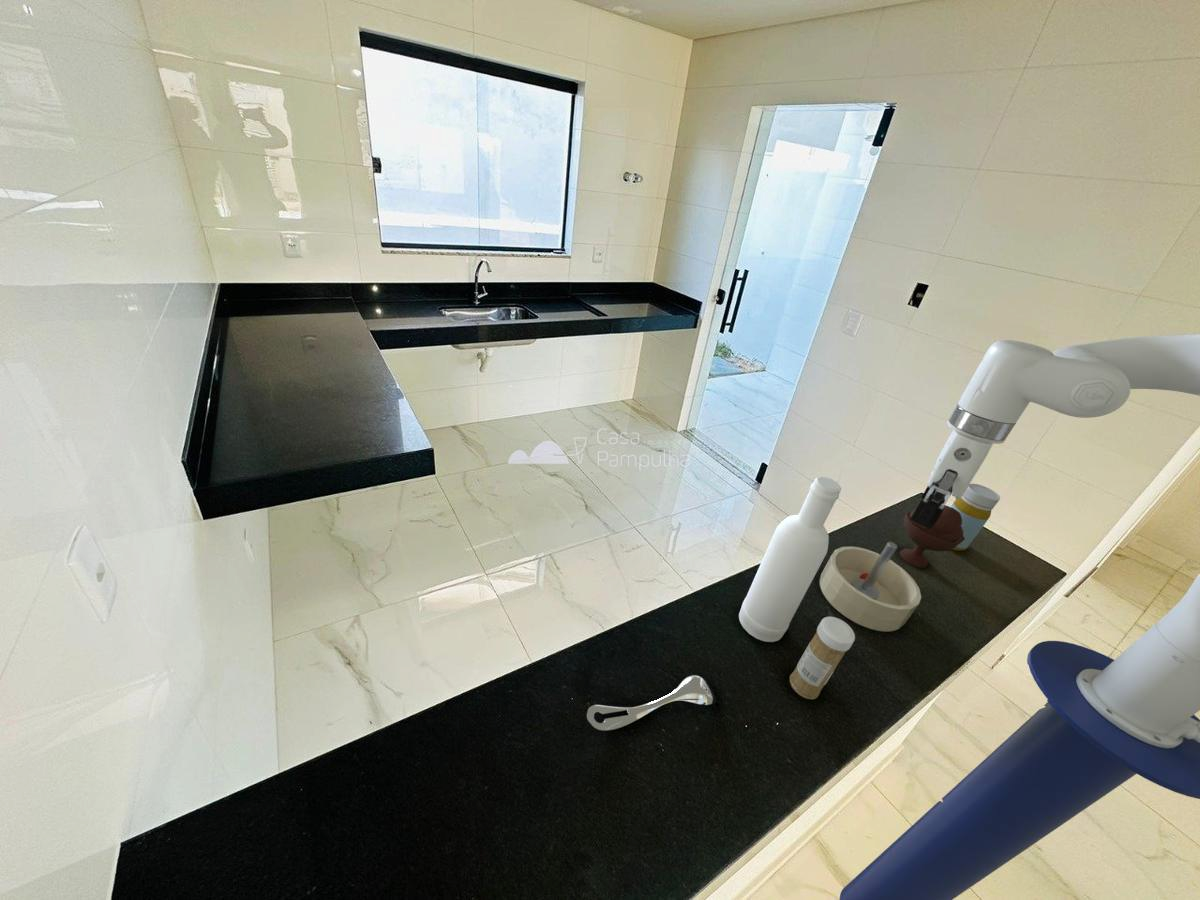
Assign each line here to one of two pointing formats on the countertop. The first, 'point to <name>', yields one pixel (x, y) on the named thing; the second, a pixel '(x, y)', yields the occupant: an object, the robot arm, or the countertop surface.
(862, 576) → the bead
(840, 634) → the sprinkles bottle
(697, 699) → the ice cream scoop
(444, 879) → the countertop surface
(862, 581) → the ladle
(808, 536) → the bottle
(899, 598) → the mixing bowl
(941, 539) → the ice cream bowl
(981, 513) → the bottle
